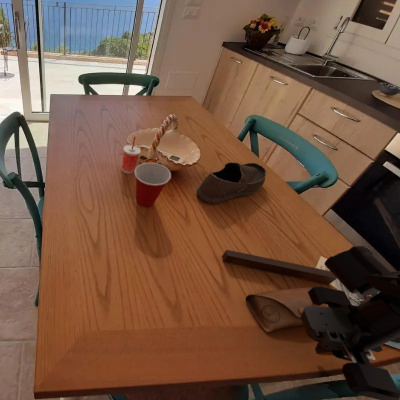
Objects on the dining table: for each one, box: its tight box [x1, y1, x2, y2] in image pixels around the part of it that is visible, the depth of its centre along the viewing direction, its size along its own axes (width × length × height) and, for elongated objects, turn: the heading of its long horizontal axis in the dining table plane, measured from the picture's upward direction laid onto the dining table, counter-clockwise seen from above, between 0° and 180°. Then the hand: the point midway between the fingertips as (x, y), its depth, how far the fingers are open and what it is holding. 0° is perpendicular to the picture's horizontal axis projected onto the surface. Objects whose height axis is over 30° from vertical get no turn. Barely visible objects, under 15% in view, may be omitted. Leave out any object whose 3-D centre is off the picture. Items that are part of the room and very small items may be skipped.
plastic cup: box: [133, 161, 172, 208], centre depth 84 cm, size 11×11×12 cm
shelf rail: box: [221, 249, 338, 285], centre depth 70 cm, size 2×26×3 cm, turn 77°
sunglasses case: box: [245, 286, 327, 334], centre depth 62 cm, size 18×7×7 cm, turn 99°
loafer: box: [195, 161, 267, 204], centre depth 91 cm, size 11×30×11 cm, turn 121°
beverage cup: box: [121, 135, 142, 175], centre depth 96 cm, size 6×6×14 cm
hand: (318, 352), depth 55 cm, fingers closed
